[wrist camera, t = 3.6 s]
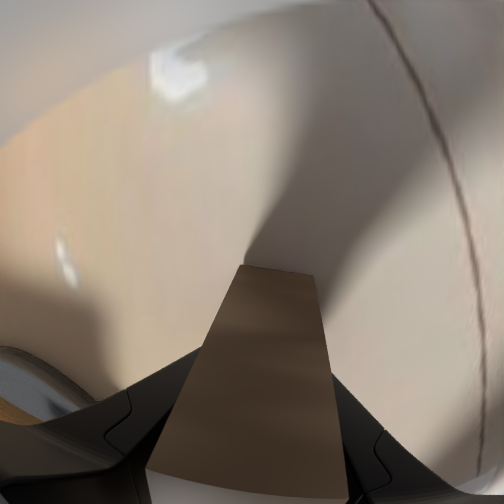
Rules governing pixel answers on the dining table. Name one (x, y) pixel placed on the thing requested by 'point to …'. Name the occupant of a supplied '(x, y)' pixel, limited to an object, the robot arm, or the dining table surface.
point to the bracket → (35, 390)
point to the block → (256, 405)
